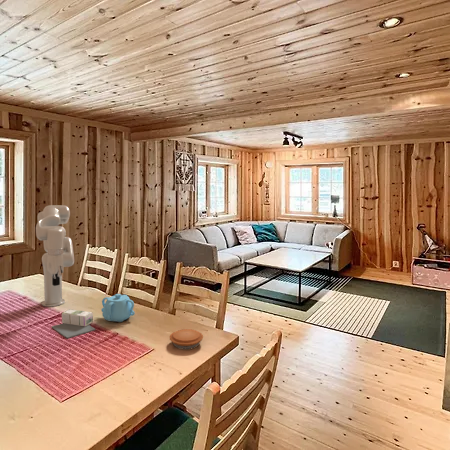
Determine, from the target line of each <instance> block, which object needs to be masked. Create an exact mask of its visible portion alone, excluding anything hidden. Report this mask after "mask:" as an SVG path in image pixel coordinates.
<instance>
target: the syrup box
mask: <svg viewBox="0 0 450 450" xmlns="http://www.w3.org/2000/svg"><path fill="white" fill-rule="evenodd" d="M93 322H94V315H93V312H91V311H84V310H77V309H71V308H70V309H67V310H65V311H63V312H62V313H61V324H63V323H65V324H72V325H79V326H87V325H90V324H92V323H93Z"/></svg>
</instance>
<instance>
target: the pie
mask: <svg viewBox="0 0 450 450" xmlns="http://www.w3.org/2000/svg"><path fill="white" fill-rule="evenodd" d="M203 338H204V336H203V334H202V332H200V331H197V330H195V329H189V328H186V329H184V328H183V329H182V328H181V329H179V330H176V331H174V332H173V331H172V333H171V334H169V340H170V341H171V342H172V344H173V345H174V347H175V348H177V349H180V350H192V349H195V348H196V346H197V347H198V346H199V344H200V343H201V341H203ZM194 347H195V348H194ZM191 348H192V349H191Z"/></svg>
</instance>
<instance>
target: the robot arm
mask: <svg viewBox="0 0 450 450" xmlns="http://www.w3.org/2000/svg"><path fill="white" fill-rule="evenodd" d="M70 216H71V210H70V208H69V207H68V206H67V205H65V204H63V205H62V204H61V205H58V204H56V205H55V204H52V205H51V204H50V205H46V206H45V207H44V208H43V210H42V211H40V212H38V213H37V223H36V225H35V236H36V238H37V239H38V240H39V241H43V249H44V251H45V253H43V254H42V257H41V262H42V263H41V264H42V268H43V269H42V270H43V285H44V287H43V288H44V290H43V292H44V295H43V296H44V300H43V301H41V306H43V307H46V308H47V307H50V308H51V307H56V306H61V305H63V304H65V303H66V300H65V299H64V298H63V284H62V283H63V281H62V280H63V277H62V276H63V273H64V268H68V267H72V266H74V264H75V255H74V245H73V241H72V238H71V237H69V236H66V235H67V234H66V233H67V232H66V228H65V227H63V226H62V225H65V224H68V223H69V221H70V220H69V219H70Z"/></svg>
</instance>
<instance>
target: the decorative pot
mask: <svg viewBox="0 0 450 450" xmlns="http://www.w3.org/2000/svg"><path fill="white" fill-rule="evenodd" d="M105 300H106V301H105ZM101 303H102V308H101V309H100V310H101V312H102V317H103V318H104V320H106V321H108V322H118V323H122V322H123V321H126V320H127V319H130V317H132V316H134V315H136V314H135V311H134V307H135V303H134V301H133V300H132V299H130V297H129V296H128V295H127V294H121V293H116V294H114V295H112V296H109V297H107V296H106V297H104V298H103V299H102V300H101Z"/></svg>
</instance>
